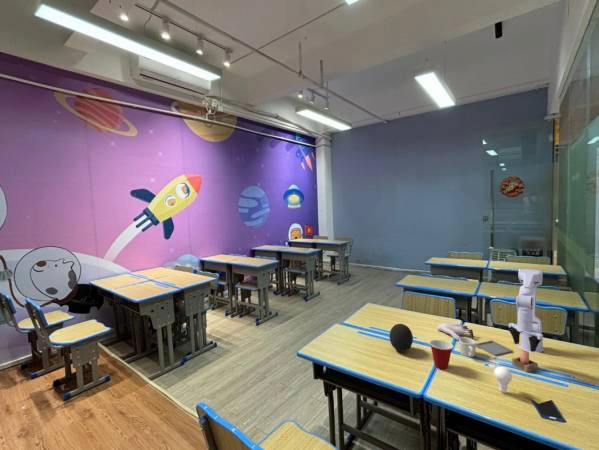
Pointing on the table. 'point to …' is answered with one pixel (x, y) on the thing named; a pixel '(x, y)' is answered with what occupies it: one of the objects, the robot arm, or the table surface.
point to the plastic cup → (441, 353)
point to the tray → (493, 348)
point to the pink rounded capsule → (524, 357)
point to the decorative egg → (401, 337)
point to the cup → (467, 346)
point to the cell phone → (549, 411)
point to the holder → (526, 368)
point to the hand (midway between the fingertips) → (524, 347)
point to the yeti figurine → (455, 330)
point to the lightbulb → (503, 378)
